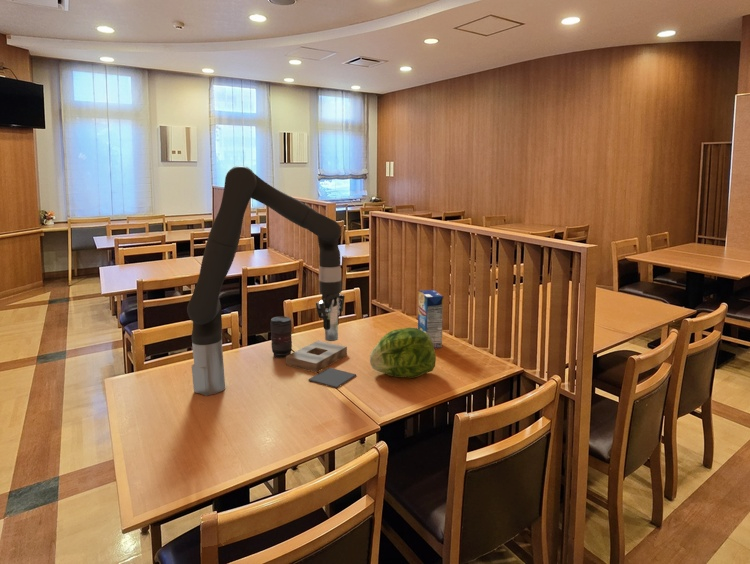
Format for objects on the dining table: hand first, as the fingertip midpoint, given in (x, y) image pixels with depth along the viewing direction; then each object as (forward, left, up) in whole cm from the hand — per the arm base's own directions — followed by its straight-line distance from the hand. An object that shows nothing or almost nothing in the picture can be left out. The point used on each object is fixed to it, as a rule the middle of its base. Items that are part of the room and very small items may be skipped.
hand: (331, 327), depth 171 cm
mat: (0, 0, -19) cm, 19 cm away
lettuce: (+15, -20, -19) cm, 32 cm away
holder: (+11, +15, -19) cm, 27 cm away
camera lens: (+8, +30, -19) cm, 36 cm away
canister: (0, 0, -4) cm, 4 cm away
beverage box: (+49, -15, -19) cm, 55 cm away
